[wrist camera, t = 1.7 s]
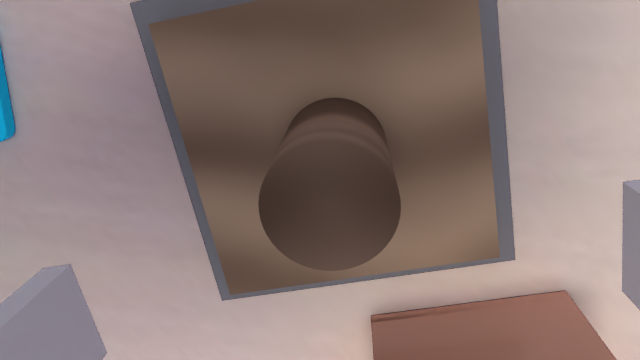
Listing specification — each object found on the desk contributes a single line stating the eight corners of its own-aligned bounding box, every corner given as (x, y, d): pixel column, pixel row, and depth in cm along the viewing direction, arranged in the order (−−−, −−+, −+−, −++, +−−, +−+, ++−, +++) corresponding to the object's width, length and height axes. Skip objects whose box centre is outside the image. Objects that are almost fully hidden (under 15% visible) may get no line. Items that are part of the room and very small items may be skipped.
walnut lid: (158, 22, 21) (57, 35, 14) (467, -44, 19) (536, -69, 12) (235, 281, 25) (189, 395, 18) (492, 245, 24) (555, 352, 16)
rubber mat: (134, 3, 21) (129, 3, 21) (487, -76, 19) (491, -78, 19) (224, 295, 26) (222, 300, 26) (512, 254, 24) (515, 259, 24)
